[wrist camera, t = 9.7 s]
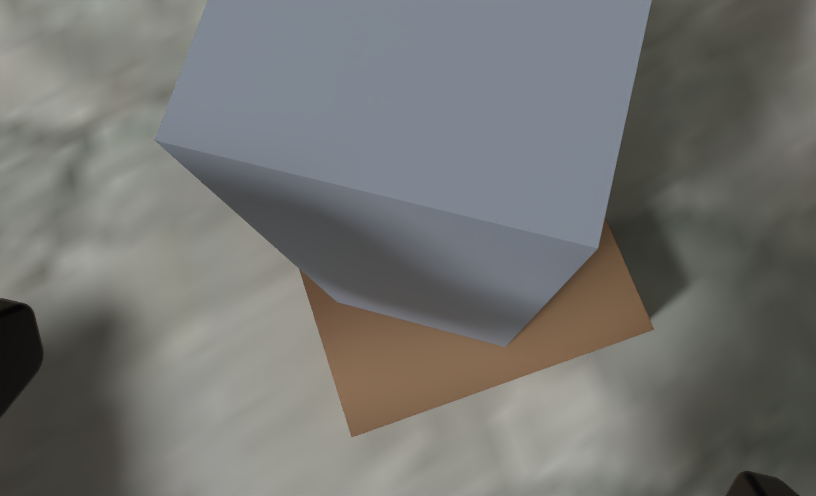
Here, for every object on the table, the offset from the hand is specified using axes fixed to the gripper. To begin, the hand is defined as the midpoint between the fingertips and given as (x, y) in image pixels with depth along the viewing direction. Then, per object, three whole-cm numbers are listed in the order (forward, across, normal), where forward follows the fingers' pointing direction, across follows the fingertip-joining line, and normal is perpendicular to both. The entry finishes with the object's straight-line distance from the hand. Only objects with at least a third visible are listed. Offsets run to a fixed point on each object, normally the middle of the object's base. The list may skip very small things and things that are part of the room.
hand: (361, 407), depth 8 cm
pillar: (+11, 0, -4) cm, 11 cm away
